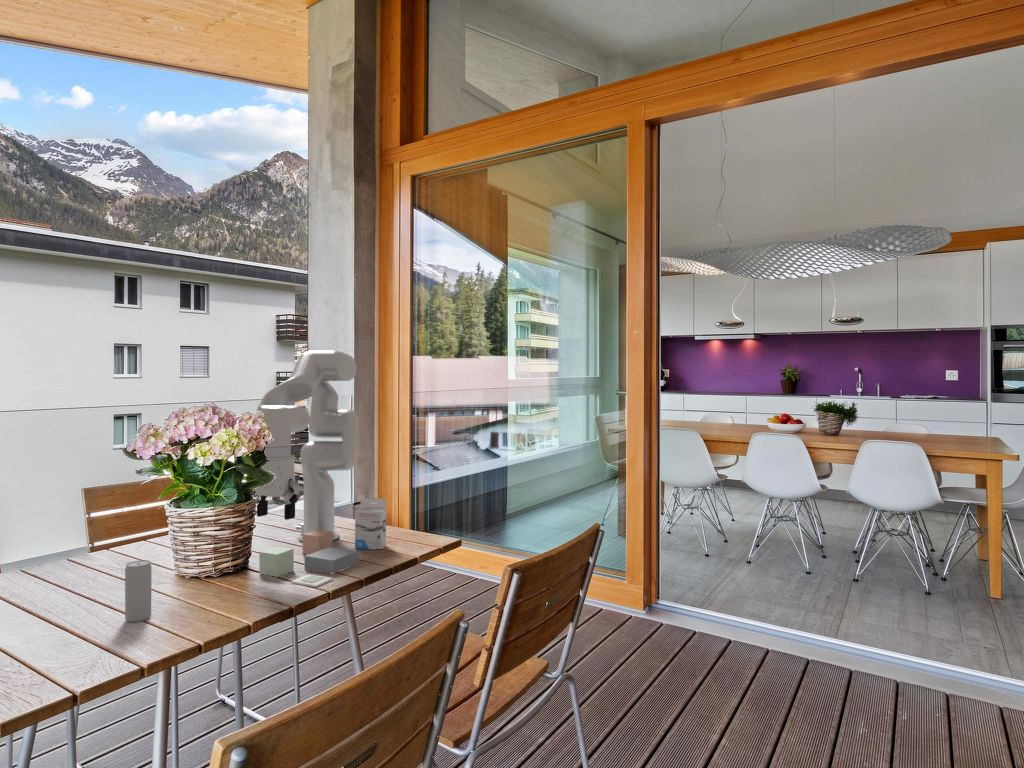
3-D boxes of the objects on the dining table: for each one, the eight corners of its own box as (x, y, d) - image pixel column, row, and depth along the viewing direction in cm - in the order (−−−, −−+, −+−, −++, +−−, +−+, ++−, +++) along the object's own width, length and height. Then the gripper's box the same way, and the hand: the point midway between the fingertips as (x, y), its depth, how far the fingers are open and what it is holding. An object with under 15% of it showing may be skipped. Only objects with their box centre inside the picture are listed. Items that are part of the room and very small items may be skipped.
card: (291, 583, 152) (291, 580, 152) (308, 576, 158) (308, 573, 158) (316, 587, 149) (316, 584, 149) (332, 580, 155) (332, 577, 155)
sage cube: (259, 574, 160) (259, 552, 160) (276, 568, 165) (276, 546, 165) (276, 577, 157) (276, 554, 157) (293, 570, 163) (293, 548, 163)
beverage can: (146, 613, 133) (146, 558, 133) (155, 618, 130) (155, 562, 130) (121, 619, 129) (121, 563, 129) (130, 625, 126) (129, 568, 126)
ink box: (354, 549, 183) (354, 500, 183) (359, 545, 188) (359, 497, 188) (381, 550, 182) (381, 501, 182) (386, 545, 187) (386, 498, 187)
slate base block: (304, 570, 164) (304, 555, 164) (330, 560, 173) (330, 546, 173) (333, 575, 159) (333, 560, 159) (358, 565, 169) (358, 550, 169)
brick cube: (302, 554, 178) (302, 534, 178) (316, 549, 184) (316, 529, 184) (318, 556, 176) (318, 536, 176) (332, 551, 181) (332, 531, 181)
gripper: (241, 452, 161) (240, 517, 161) (290, 455, 154) (290, 522, 154) (263, 450, 168) (262, 512, 167) (311, 452, 161) (311, 517, 160)
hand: (275, 517), depth 161 cm, fingers open, 9 cm apart
